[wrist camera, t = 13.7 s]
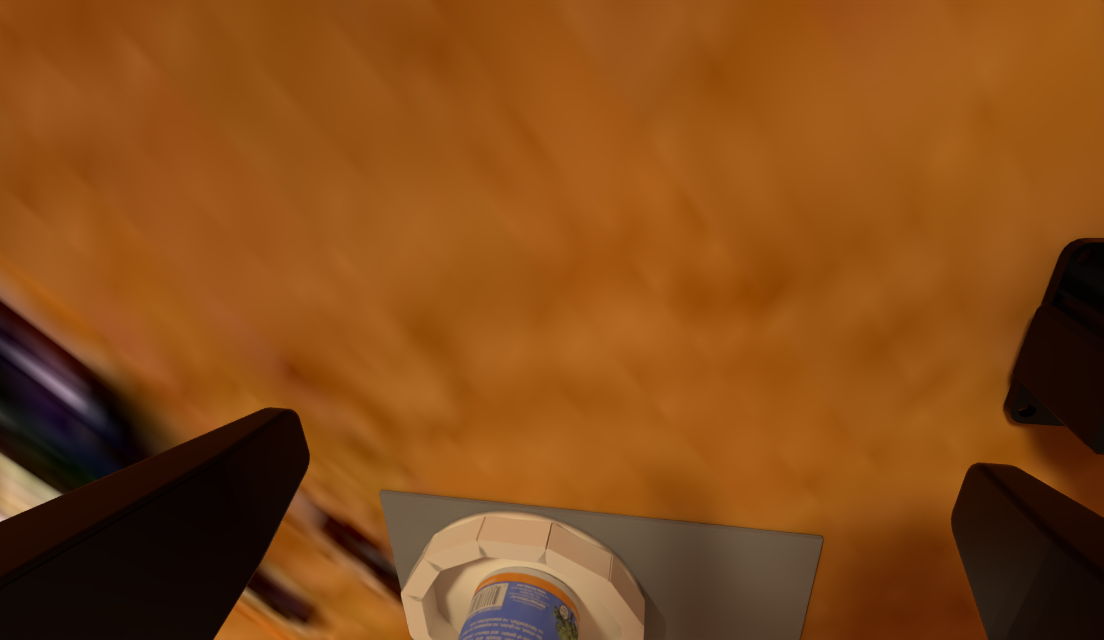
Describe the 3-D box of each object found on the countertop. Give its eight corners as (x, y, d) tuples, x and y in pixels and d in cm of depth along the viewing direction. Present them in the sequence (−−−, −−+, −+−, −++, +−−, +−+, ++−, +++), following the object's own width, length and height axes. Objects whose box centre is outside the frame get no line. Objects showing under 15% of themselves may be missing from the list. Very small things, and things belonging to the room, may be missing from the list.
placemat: (821, 535, 24) (823, 539, 24) (782, 706, 29) (782, 710, 29) (381, 490, 27) (379, 492, 27) (416, 648, 33) (415, 652, 33)
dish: (648, 524, 25) (647, 559, 23) (640, 685, 30) (639, 723, 29) (403, 498, 27) (385, 528, 25) (434, 653, 32) (422, 687, 31)
